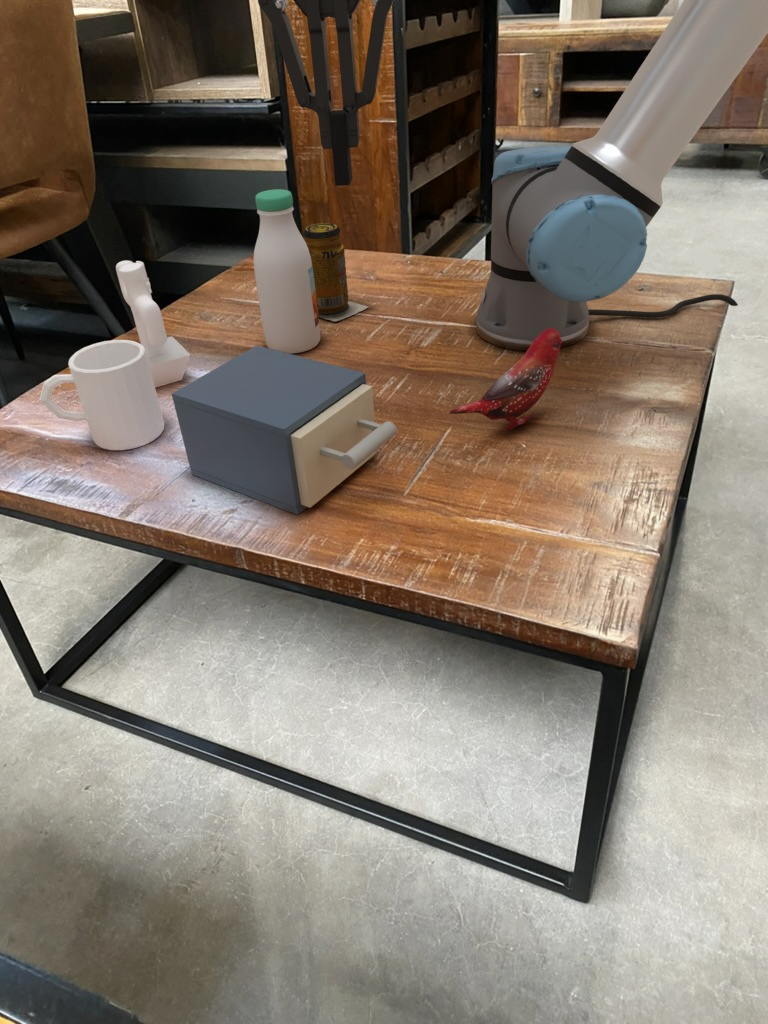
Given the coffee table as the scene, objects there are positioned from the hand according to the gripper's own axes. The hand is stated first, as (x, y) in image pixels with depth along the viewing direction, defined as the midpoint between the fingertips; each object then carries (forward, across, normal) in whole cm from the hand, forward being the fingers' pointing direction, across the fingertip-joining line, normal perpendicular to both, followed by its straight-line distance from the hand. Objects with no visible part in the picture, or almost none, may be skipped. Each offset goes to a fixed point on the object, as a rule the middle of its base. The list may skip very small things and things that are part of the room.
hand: (343, 181), depth 80 cm
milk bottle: (+25, -11, +15) cm, 31 cm away
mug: (+25, -28, -10) cm, 39 cm away
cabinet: (+24, -7, -16) cm, 30 cm away
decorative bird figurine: (+25, +17, -10) cm, 32 cm away
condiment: (+25, -7, +27) cm, 37 cm away
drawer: (+24, -4, -18) cm, 30 cm away
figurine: (+25, -27, +5) cm, 37 cm away
